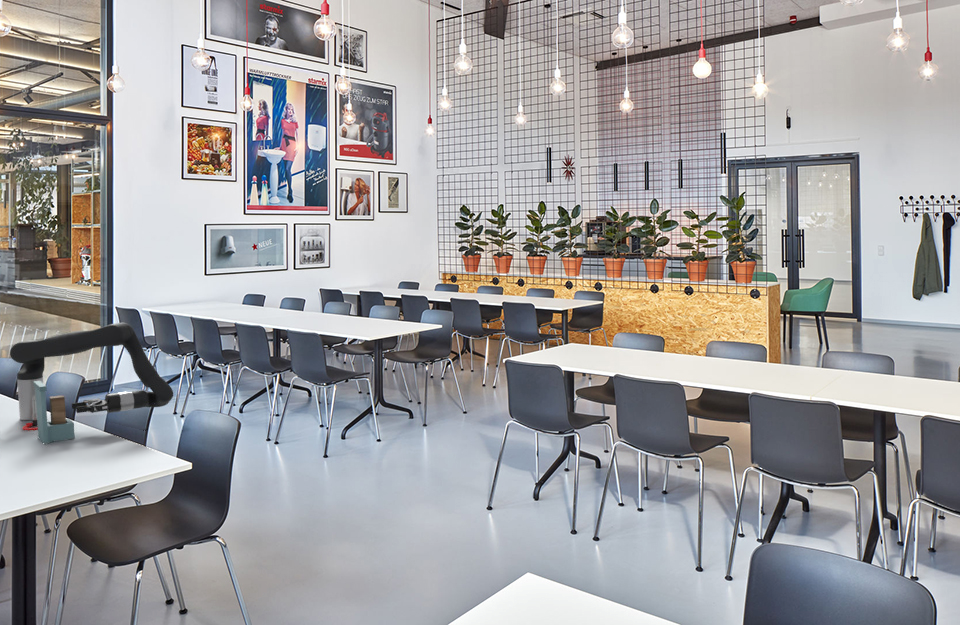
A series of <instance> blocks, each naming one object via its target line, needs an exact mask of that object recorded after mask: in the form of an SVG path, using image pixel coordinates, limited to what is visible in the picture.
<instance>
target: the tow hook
mask: <svg viewBox="0 0 960 625" xmlns="http://www.w3.org/2000/svg"><path fill="white" fill-rule="evenodd" d="M32 398H33V400H32V406H33V414H32V415H33V419H32V420H31V422H26V423H25V425H24V426H22V430H23V431H25V430H33V431H38V426H36V425H38V424H37V413H36V400H35V395H32Z"/></svg>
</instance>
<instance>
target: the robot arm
mask: <svg viewBox="0 0 960 625" xmlns="http://www.w3.org/2000/svg"><path fill="white" fill-rule="evenodd" d="M117 346H118V347H119V346H122V347H123V348H124V349H125V350H126V351H127V352H128V354H129V356H130V359H131V363H132V367H133V371H134V372H135V374H136V376H137V378H138V379H139V380H140V382H141V383H142V384H143V386H144V387H146V388H149V389H150V391H146V390H144V389H143V390H135V391H121V392H113V393H106V394H105V396H104V399H101V398H99V397H98V398H92V399H84V400H82V401H79V402H73V403H71V409H72V410H75V412H76V413H77V414H81V413H91V414H93V413H98V412H103V411H105V412H107V413H108V414H110V413H118V412H124V411H125V412H126V411H130V410H134V409H142V408H160V407H161V408H162V407H164V406H166V405H168V404H169V403H170V402H171V401H172V399H173V398H174V390H173V388H172V386H170V384H169V383H168V382H167V381H165V379H164V378H163V377H161V376H160V374H159V372H158V371H157V370H156V368H155V367H154V365H153V364H152V363H151V361H150V359H149V358H148V356H147V354H146V353H145V351H144V348H143V347H142V344H141V343H140V340H139V339H138V336H137V333H136V332H135V330H134V328H133V327H132V326H131V324H129V323H127V322H117V323H116V322H115V323H110V324H108V325H105V326H102V327H99V328H96V329H92V330H75V331H69V332H65V333H61V334H56V335H54V336H49V337H47V338H44V339H41V340H37V339H29V340H23V341H19V342H17V343H14V345H12V347H11V349H10V350H9V355H10V358H11V359H12V361H14V362H16V363H18V364H23V366H22V368H21V369H20V370H19V371H17V373H16V378H17V392H18V395H17V396H18V409H19V420H20V421H32V419H33V415H32V414H33V406H32V400H33V398H32V395H35V400H36V393H35V387H34V384H33V381H41V382H42V383H43V384H44V377H43V376H44V372H45V367H46V365H45V358H54V357H63V356H69V355H70V356H71V355H76V354H81V353H83V352H87V351H89V350H92V349H95V348H102V347H105V348H106V347H117ZM154 403H155V404H154ZM36 413H37V409H36Z"/></svg>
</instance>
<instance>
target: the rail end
mask: <svg viewBox="0 0 960 625" xmlns="http://www.w3.org/2000/svg"><path fill="white" fill-rule="evenodd" d="M49 411H50V412H49V413H50V421H51V425H56V424H63V423H66V419H67V418H66V417H67V416H66V414H67V413H66V399H65V396H64V395H55V396H54V395H53V396H49Z"/></svg>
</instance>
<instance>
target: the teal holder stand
mask: <svg viewBox="0 0 960 625" xmlns="http://www.w3.org/2000/svg"><path fill="white" fill-rule="evenodd" d="M33 384H34V387H35V393H36V409H37V424H38V426H37V427H38V430H37V437H39V438H40V439H39V438H38V439H39V440H40V442H41V443H42V442H43V443H44V444H43V443H42V444H43V445H46V443H52V442H51V441H54V442H59V441H58V440H60V441H65V440H64V439H66V440H70V438H73V439H75V438H76V437H75V436H76V435H75V423H74V422H73V420H72V419H70V418H66V423H63V424H56V425H51V420H50V421H48V415H47V414H48V411H47V397H46V392H47V391H48V388H47V385H46V384H45V383H44V382H43V383H42V382H41V381H33Z"/></svg>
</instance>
